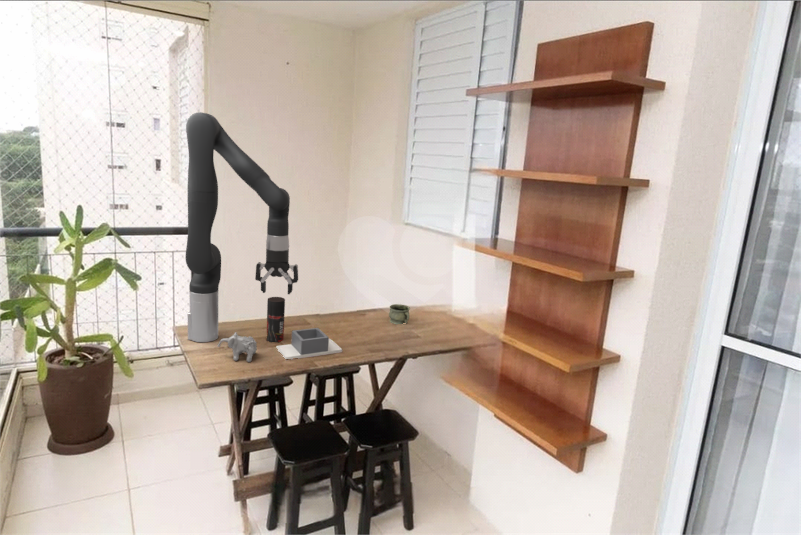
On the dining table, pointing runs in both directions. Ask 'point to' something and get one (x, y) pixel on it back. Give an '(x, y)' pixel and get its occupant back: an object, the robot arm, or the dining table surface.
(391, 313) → the vessel
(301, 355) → the socket stand
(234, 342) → the gray elephant figurine
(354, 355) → the dining table surface
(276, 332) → the deodorant
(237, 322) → the dining table surface
